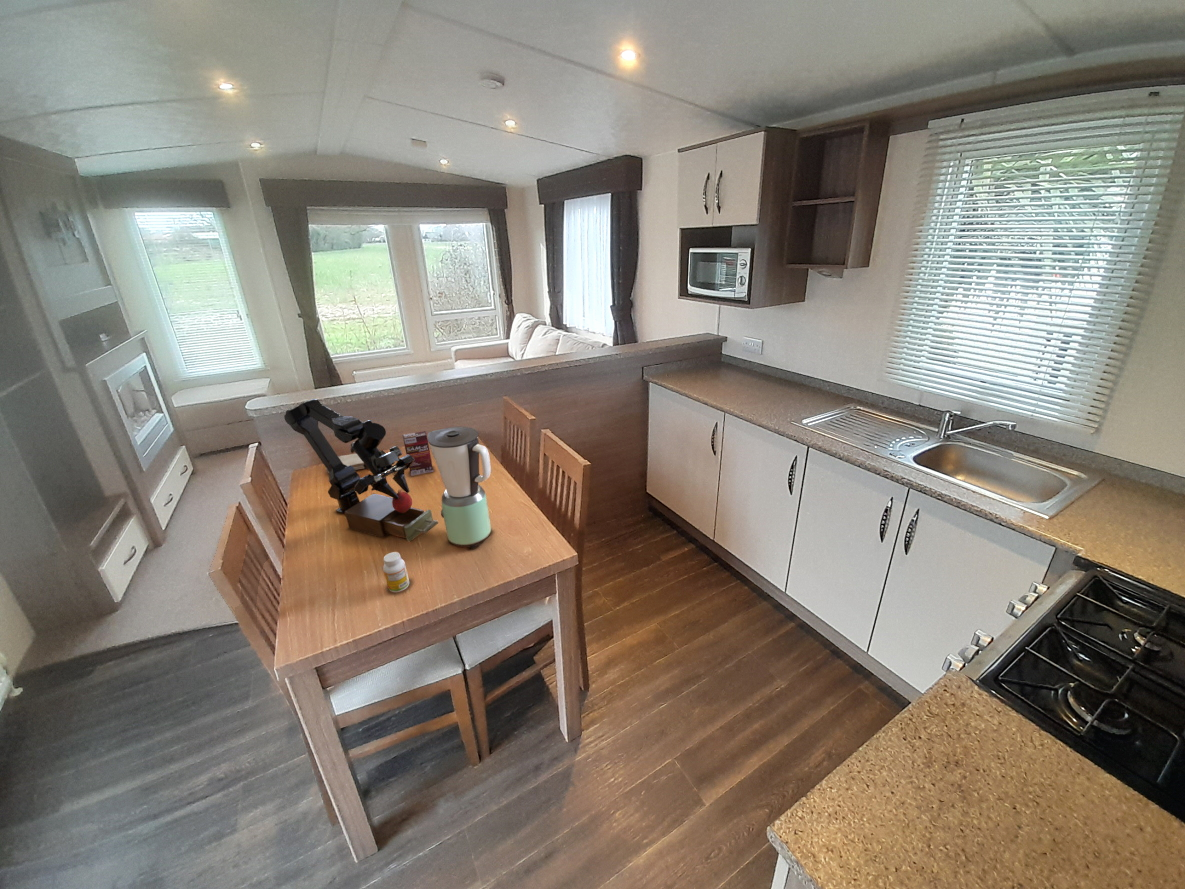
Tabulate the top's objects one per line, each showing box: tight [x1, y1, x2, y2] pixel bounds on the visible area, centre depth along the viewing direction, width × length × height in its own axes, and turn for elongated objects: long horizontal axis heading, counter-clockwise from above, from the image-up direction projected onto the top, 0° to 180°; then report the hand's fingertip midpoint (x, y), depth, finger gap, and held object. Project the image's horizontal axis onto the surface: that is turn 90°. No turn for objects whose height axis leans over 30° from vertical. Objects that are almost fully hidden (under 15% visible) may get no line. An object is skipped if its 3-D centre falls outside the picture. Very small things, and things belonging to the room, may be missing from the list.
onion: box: [392, 488, 413, 513], centre depth 146 cm, size 6×6×8 cm
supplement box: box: [402, 430, 434, 477], centre depth 183 cm, size 9×5×16 cm, turn 113°
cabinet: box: [344, 493, 396, 539], centre depth 153 cm, size 14×12×6 cm
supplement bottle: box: [382, 551, 410, 593], centre depth 125 cm, size 5×5×10 cm
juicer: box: [427, 426, 492, 550], centre depth 138 cm, size 19×13×35 cm
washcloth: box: [325, 453, 368, 474], centre depth 192 cm, size 12×18×3 cm, turn 110°
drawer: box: [381, 506, 439, 542], centre depth 148 cm, size 18×11×5 cm, turn 67°
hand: (403, 495), depth 144 cm, fingers closed on onion, 4 cm apart
